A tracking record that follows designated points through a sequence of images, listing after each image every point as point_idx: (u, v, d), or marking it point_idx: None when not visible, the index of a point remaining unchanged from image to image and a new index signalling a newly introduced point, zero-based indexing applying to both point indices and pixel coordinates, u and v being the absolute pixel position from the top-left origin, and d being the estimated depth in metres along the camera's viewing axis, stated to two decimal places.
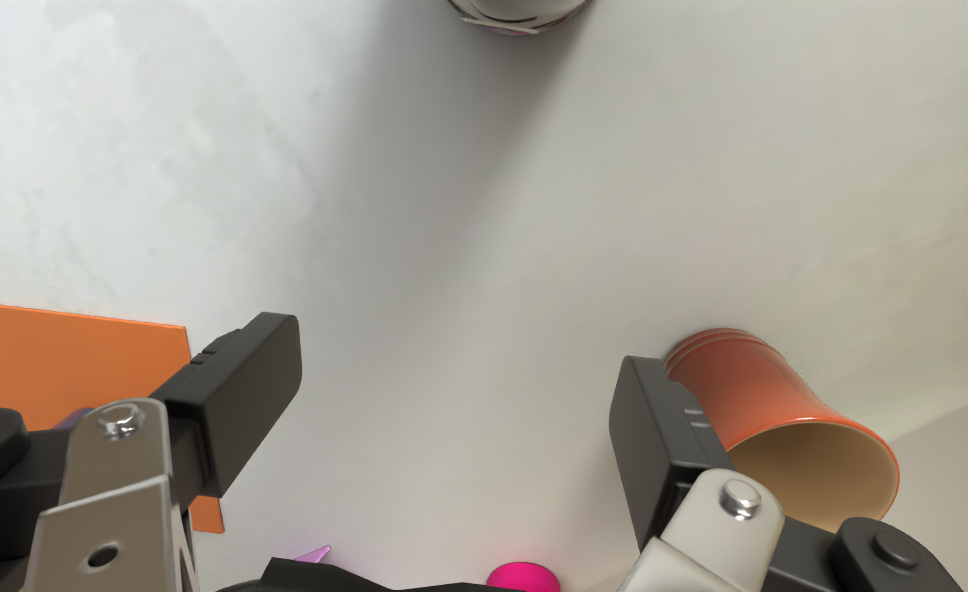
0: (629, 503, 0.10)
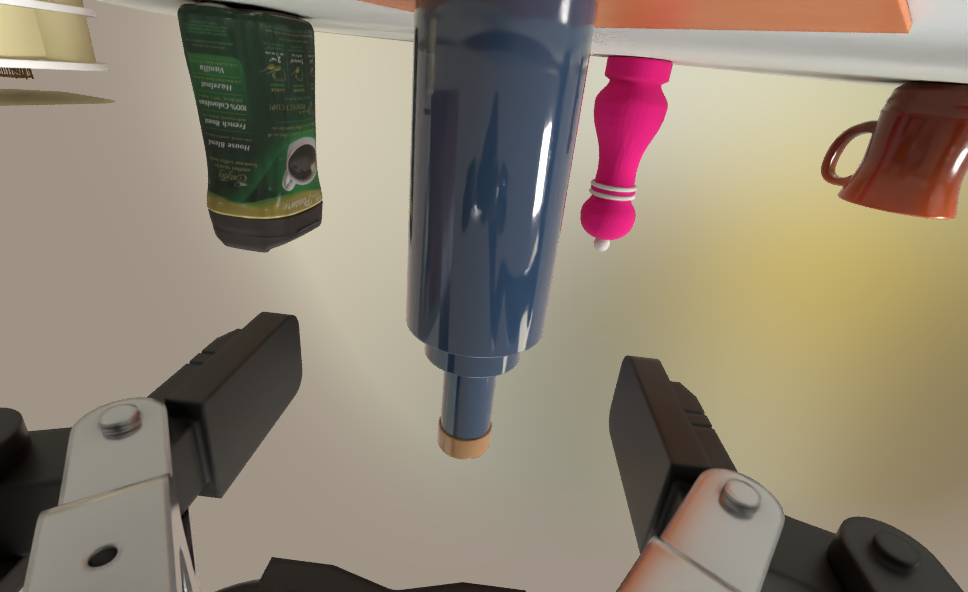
0: (630, 503, 0.10)
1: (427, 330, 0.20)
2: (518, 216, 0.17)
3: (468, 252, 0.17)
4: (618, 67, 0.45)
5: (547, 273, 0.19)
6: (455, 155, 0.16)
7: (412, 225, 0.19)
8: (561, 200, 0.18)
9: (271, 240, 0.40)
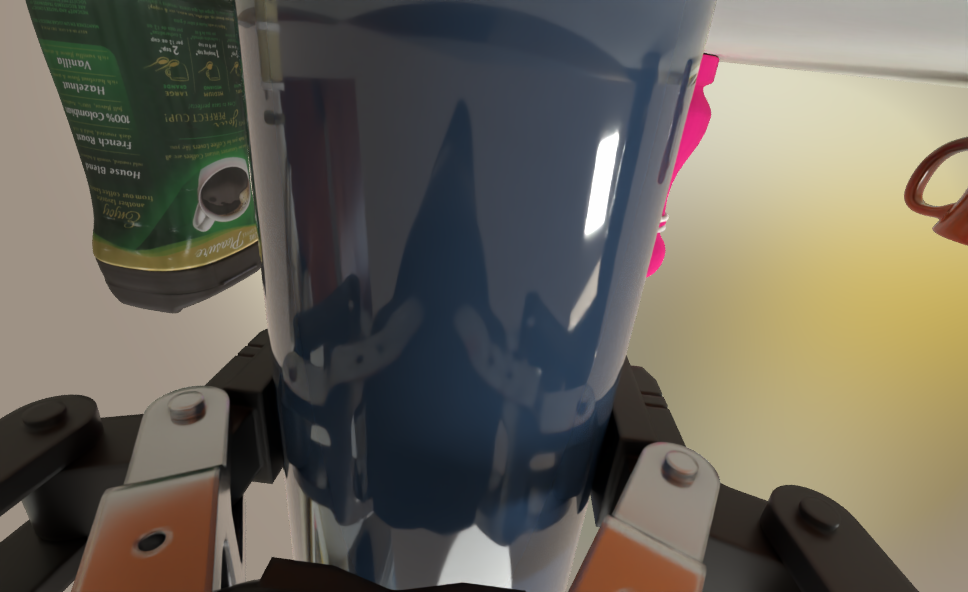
0: None
1: None
2: (519, 437, 0.06)
3: (391, 516, 0.07)
4: None
5: (583, 506, 0.09)
6: (336, 294, 0.06)
7: (277, 409, 0.08)
8: (622, 364, 0.08)
9: (181, 298, 0.29)
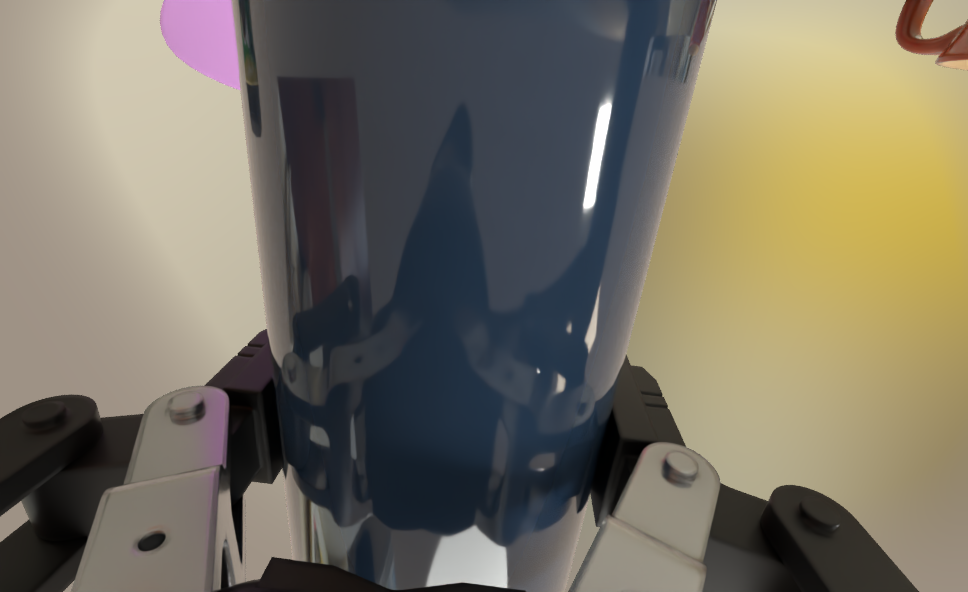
0: None
1: None
2: (518, 438, 0.06)
3: (390, 517, 0.07)
4: None
5: (583, 507, 0.09)
6: (336, 294, 0.06)
7: (276, 409, 0.08)
8: (621, 364, 0.08)
9: None
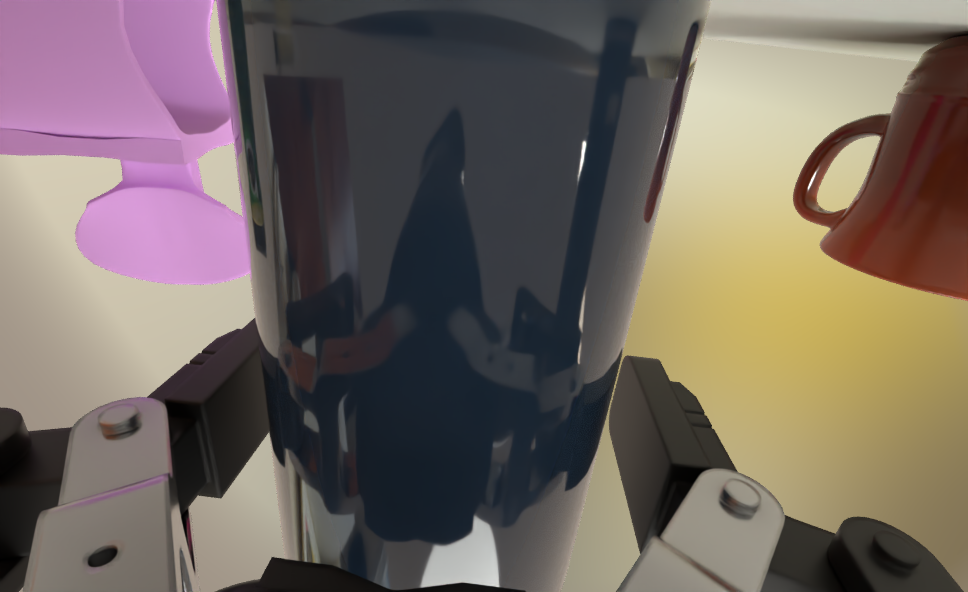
0: (630, 503, 0.10)
1: None
2: (519, 393, 0.06)
3: (382, 481, 0.06)
4: None
5: (586, 477, 0.08)
6: (320, 230, 0.05)
7: (262, 373, 0.08)
8: (628, 322, 0.07)
9: None
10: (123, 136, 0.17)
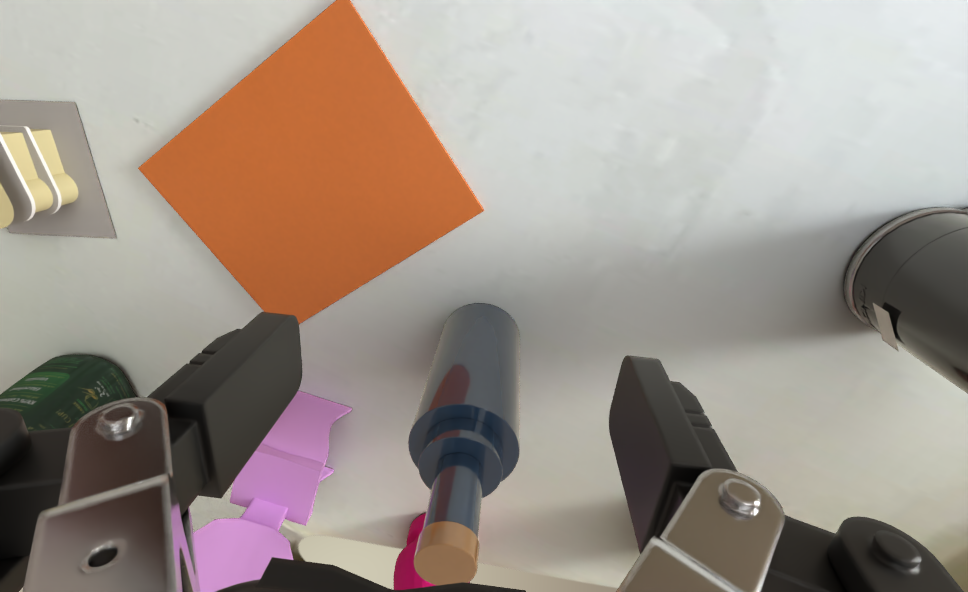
0: (629, 503, 0.10)
1: (436, 401, 0.27)
2: (496, 354, 0.31)
3: (469, 360, 0.30)
4: (416, 523, 0.47)
5: (515, 397, 0.29)
6: (463, 335, 0.33)
7: (430, 374, 0.31)
8: (517, 374, 0.32)
9: None
10: (302, 456, 0.37)
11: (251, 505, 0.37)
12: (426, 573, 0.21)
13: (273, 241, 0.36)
